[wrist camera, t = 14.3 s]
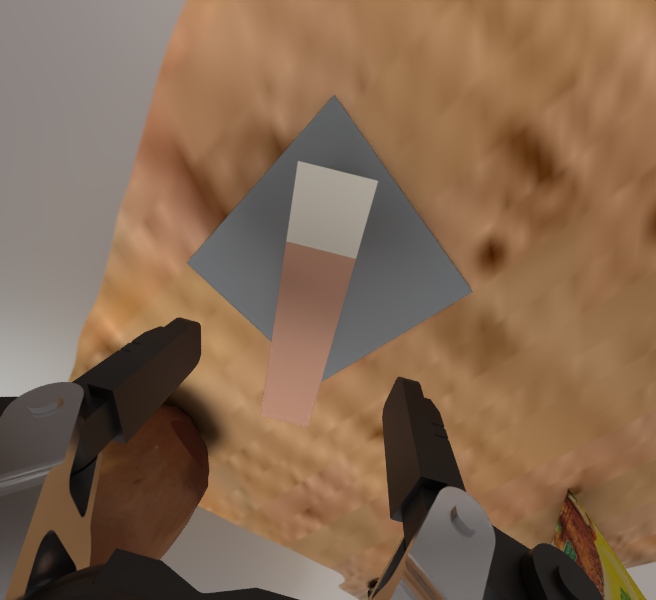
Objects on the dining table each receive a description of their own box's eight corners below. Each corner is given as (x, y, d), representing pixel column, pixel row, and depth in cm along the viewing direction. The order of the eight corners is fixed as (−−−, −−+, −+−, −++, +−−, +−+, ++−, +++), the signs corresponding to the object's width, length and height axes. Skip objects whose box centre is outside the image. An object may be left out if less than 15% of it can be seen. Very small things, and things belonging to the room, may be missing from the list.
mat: (335, 97, 15) (334, 94, 14) (469, 288, 19) (472, 291, 19) (191, 260, 21) (186, 263, 20) (318, 379, 25) (317, 384, 24)
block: (260, 415, 15) (297, 160, 9) (292, 340, 22) (325, 169, 16) (308, 427, 15) (378, 180, 9) (324, 348, 22) (369, 181, 16)
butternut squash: (104, 406, 31) (-568, 1001, 8) (165, 361, 26) (-961, 1406, 4) (189, 467, 35) (-118, 984, 12) (254, 438, 30) (-47, 1175, 8)
